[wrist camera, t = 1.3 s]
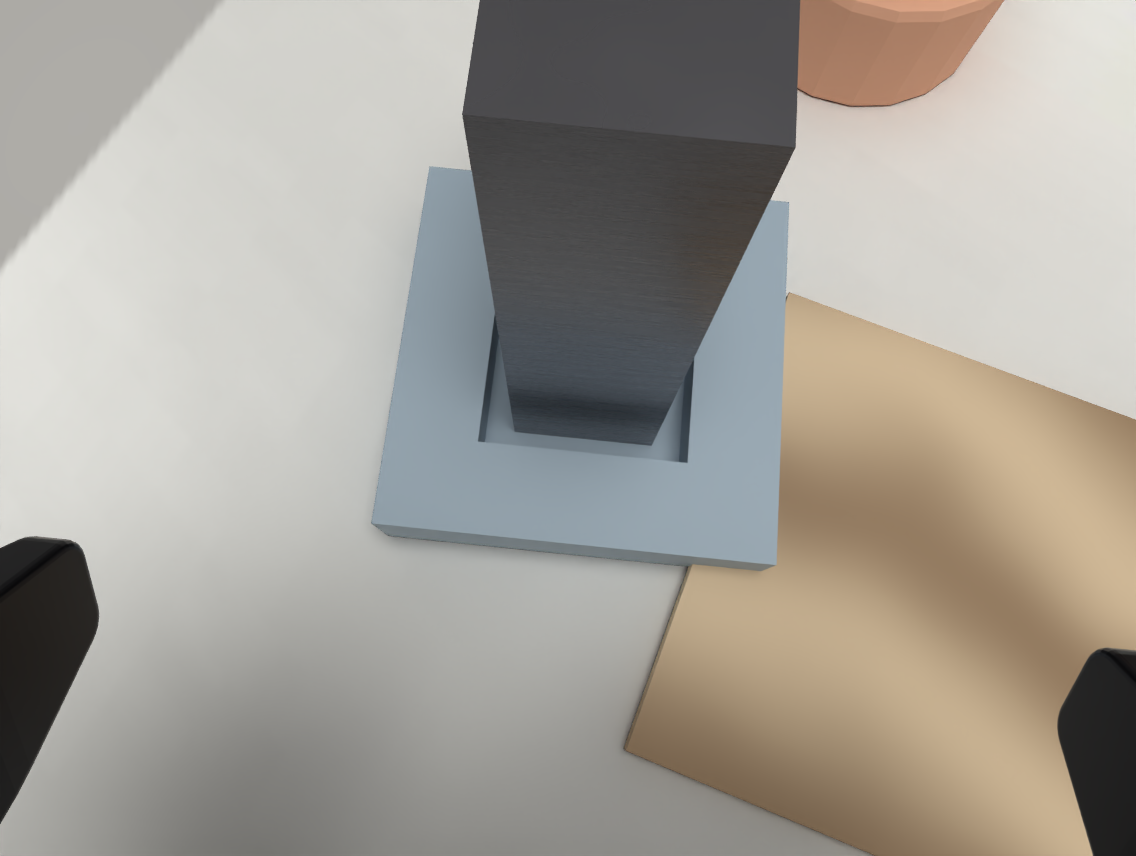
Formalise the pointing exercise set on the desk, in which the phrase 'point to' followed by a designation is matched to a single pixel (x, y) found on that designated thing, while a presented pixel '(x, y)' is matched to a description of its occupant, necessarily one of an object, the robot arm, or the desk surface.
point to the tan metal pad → (907, 604)
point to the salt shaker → (884, 46)
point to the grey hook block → (621, 190)
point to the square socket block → (570, 465)
